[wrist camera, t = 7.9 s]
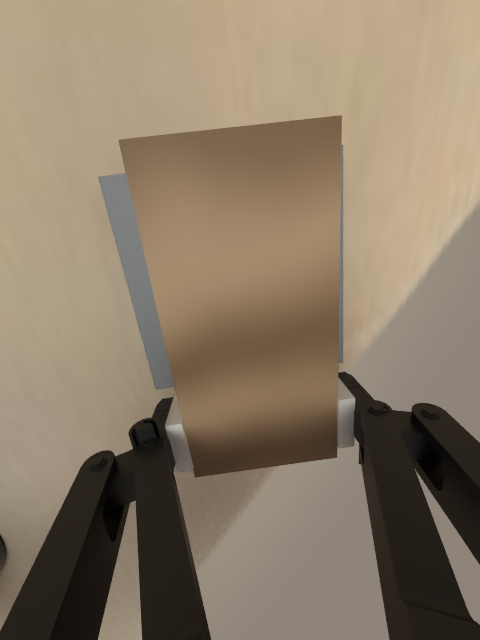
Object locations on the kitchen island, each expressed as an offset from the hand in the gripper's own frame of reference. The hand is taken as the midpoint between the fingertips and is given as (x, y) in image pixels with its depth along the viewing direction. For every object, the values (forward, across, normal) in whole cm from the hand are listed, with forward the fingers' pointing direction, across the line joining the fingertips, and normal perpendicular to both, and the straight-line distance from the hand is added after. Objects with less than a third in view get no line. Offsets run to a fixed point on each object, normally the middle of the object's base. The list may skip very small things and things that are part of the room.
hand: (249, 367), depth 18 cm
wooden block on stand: (+5, 0, -5) cm, 7 cm away
